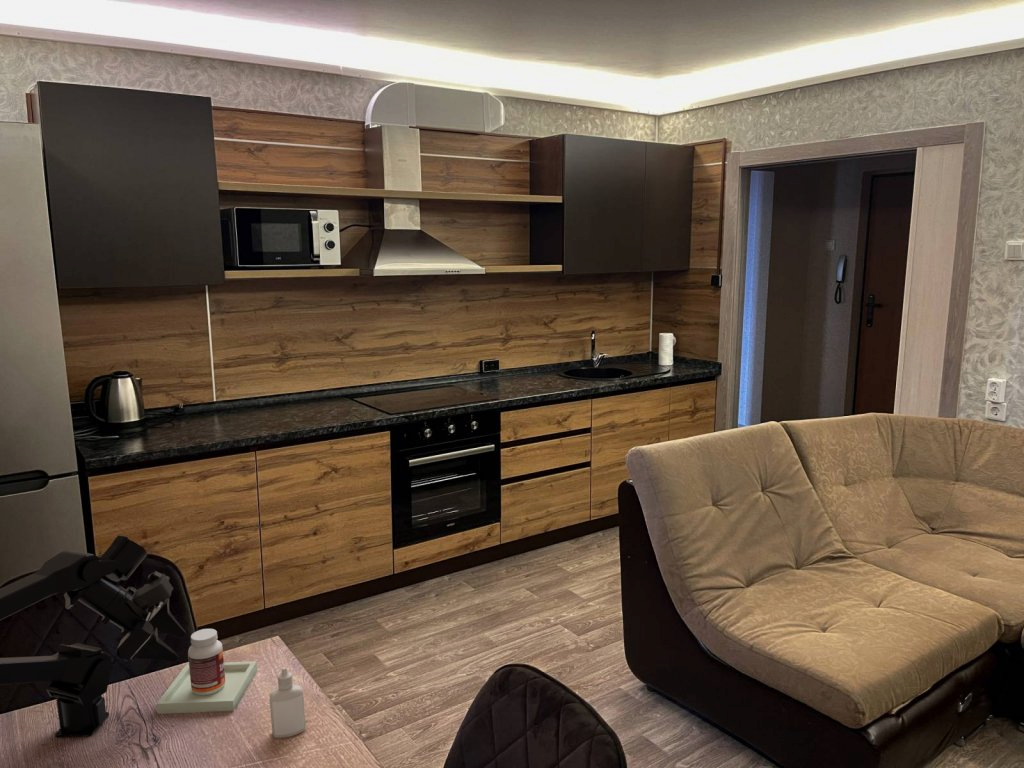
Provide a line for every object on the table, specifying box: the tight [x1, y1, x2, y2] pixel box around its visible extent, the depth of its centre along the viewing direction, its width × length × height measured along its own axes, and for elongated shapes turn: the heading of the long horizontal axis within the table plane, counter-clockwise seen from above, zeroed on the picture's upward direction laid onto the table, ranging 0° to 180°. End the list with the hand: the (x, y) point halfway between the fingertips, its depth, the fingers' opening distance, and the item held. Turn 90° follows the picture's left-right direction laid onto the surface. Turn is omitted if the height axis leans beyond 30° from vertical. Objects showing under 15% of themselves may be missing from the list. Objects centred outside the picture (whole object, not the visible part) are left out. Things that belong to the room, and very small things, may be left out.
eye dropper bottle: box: [269, 666, 307, 739], centre depth 130 cm, size 4×6×12 cm
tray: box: [156, 660, 259, 715], centre depth 144 cm, size 14×14×2 cm
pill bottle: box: [187, 628, 225, 695], centre depth 143 cm, size 6×6×11 cm
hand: (181, 647), depth 141 cm, fingers open, 9 cm apart
